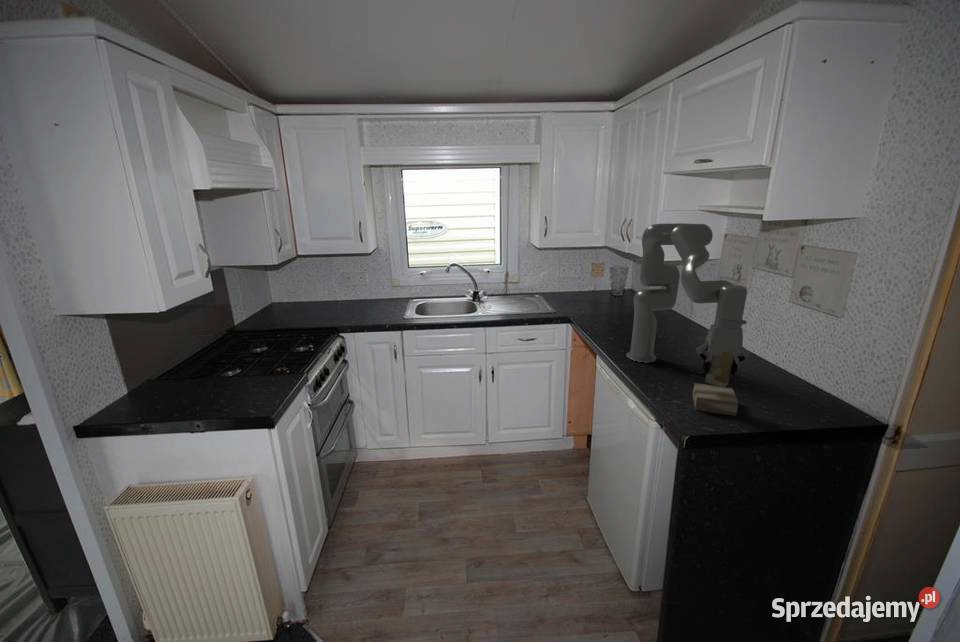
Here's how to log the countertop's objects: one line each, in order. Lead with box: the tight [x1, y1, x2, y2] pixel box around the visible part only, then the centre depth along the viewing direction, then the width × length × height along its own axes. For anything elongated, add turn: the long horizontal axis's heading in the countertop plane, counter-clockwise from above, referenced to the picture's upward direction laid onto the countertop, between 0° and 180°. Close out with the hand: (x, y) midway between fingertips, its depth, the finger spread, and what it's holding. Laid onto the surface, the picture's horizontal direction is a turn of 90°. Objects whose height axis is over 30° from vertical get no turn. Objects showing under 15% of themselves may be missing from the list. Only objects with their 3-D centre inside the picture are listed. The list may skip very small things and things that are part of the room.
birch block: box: [692, 382, 740, 417], centre depth 139 cm, size 12×12×5 cm
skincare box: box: [704, 353, 734, 388], centre depth 136 cm, size 6×4×12 cm
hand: (718, 372), depth 137 cm, fingers closed on skincare box, 7 cm apart
